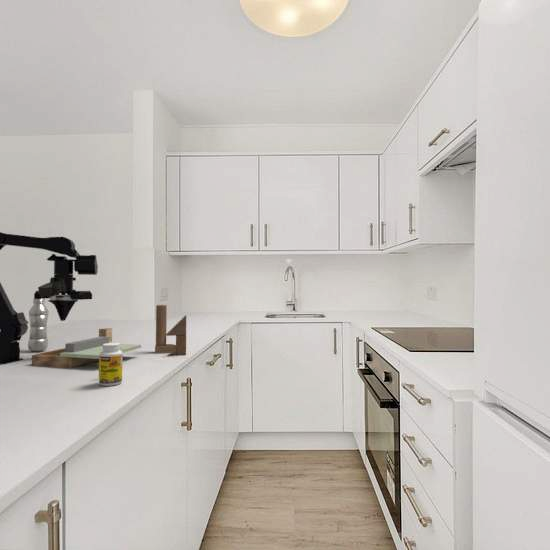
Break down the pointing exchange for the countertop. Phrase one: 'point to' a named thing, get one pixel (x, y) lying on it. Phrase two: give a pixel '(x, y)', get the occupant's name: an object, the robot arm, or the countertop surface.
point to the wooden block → (169, 334)
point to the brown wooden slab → (58, 360)
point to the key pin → (106, 333)
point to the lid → (92, 348)
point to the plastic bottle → (38, 326)
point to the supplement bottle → (110, 365)
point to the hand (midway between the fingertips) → (62, 320)
